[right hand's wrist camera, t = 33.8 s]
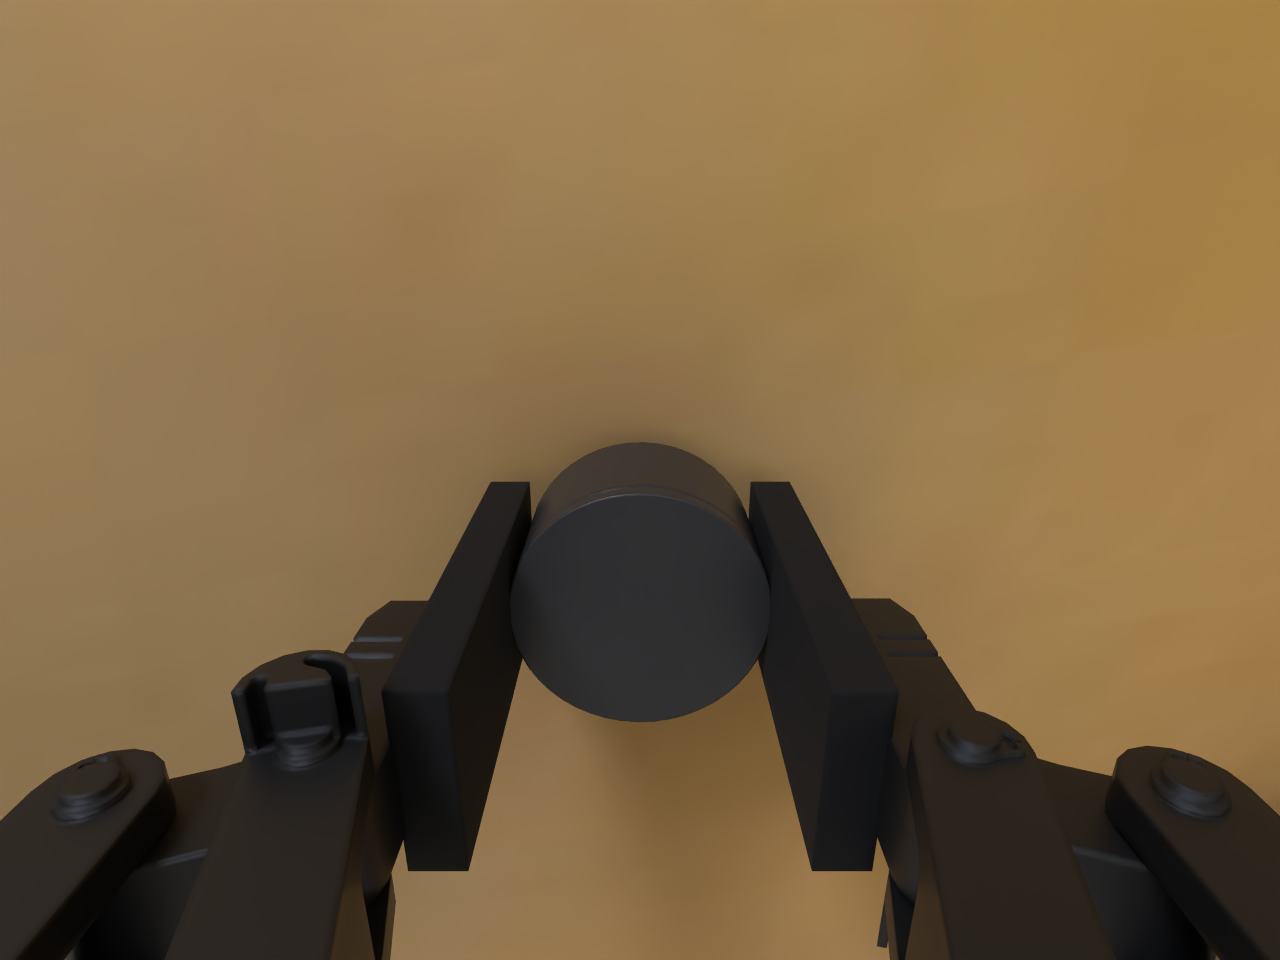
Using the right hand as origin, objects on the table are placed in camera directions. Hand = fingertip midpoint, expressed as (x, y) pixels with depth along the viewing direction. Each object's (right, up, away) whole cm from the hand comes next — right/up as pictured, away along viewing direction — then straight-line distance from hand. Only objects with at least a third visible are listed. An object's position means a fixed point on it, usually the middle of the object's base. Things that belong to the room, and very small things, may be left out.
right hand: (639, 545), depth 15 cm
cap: (0, 0, 0) cm, 0 cm away
